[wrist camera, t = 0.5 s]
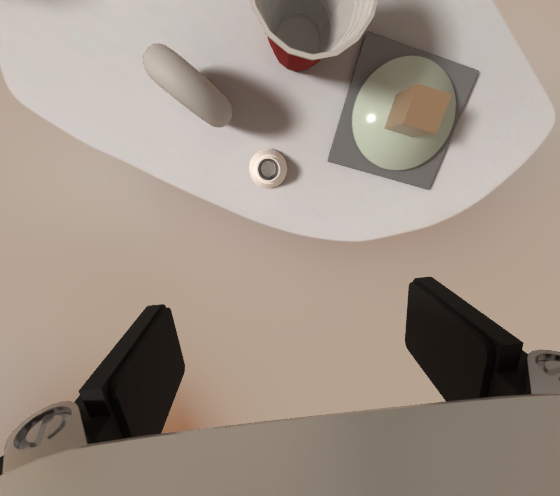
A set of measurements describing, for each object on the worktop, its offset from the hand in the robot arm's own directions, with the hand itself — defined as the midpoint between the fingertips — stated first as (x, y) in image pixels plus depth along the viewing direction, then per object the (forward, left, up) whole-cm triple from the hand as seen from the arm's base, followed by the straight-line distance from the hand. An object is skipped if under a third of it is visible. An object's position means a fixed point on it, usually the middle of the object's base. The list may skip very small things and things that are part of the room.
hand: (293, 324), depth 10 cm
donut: (-11, -12, -29) cm, 33 cm away
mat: (-15, +13, -29) cm, 35 cm away
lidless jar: (-5, -2, -29) cm, 30 cm away
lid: (-15, +13, -28) cm, 35 cm away
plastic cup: (-20, -2, -29) cm, 35 cm away
